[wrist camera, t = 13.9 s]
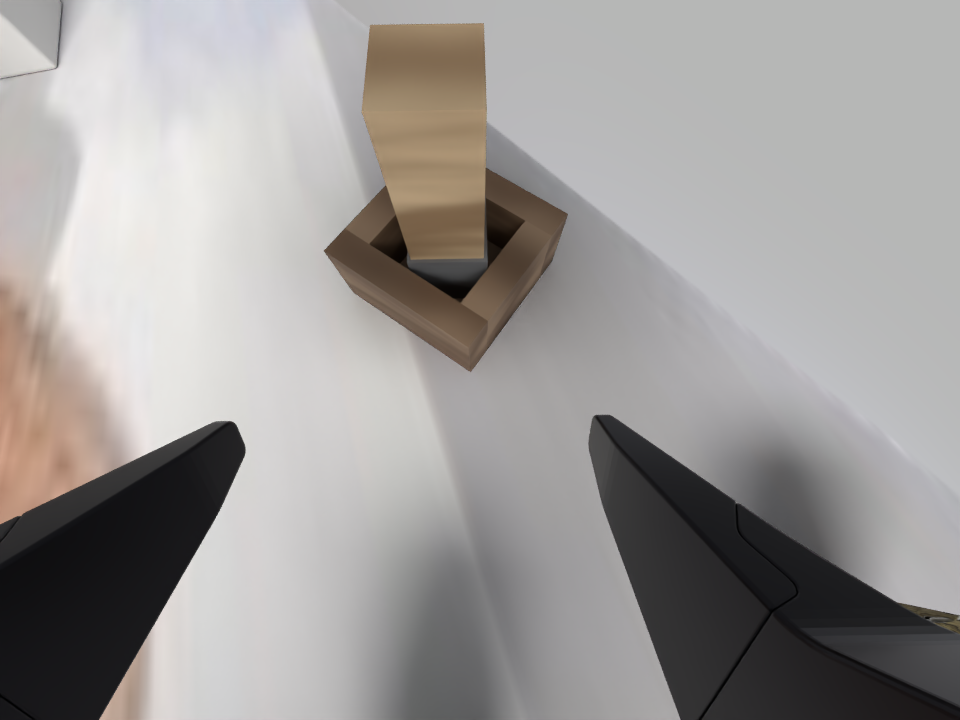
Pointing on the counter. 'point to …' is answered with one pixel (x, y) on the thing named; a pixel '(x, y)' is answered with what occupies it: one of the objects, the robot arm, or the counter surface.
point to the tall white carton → (28, 36)
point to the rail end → (432, 144)
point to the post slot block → (427, 310)
